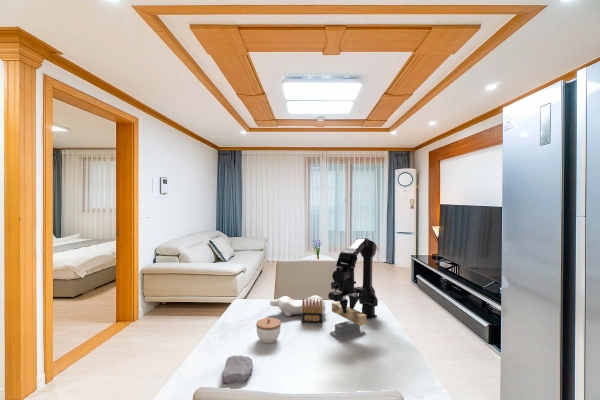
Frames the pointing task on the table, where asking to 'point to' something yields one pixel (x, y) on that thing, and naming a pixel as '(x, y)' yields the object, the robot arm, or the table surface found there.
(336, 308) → the beam
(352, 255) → the robot arm
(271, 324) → the lidded jar
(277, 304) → the torso sculpture
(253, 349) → the table surface
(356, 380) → the table surface
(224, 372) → the stone block
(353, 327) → the grey stepped block
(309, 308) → the ammunition clip
